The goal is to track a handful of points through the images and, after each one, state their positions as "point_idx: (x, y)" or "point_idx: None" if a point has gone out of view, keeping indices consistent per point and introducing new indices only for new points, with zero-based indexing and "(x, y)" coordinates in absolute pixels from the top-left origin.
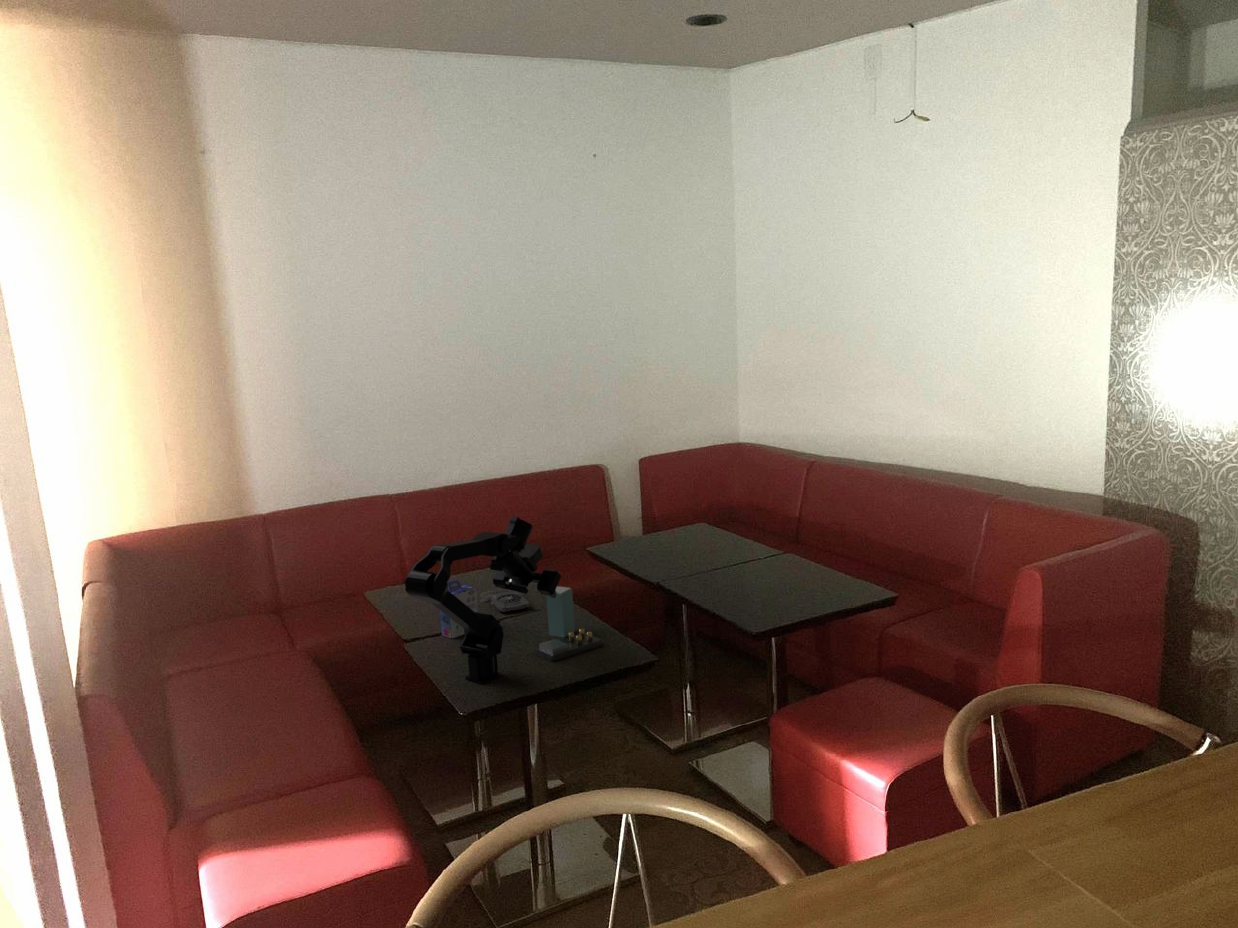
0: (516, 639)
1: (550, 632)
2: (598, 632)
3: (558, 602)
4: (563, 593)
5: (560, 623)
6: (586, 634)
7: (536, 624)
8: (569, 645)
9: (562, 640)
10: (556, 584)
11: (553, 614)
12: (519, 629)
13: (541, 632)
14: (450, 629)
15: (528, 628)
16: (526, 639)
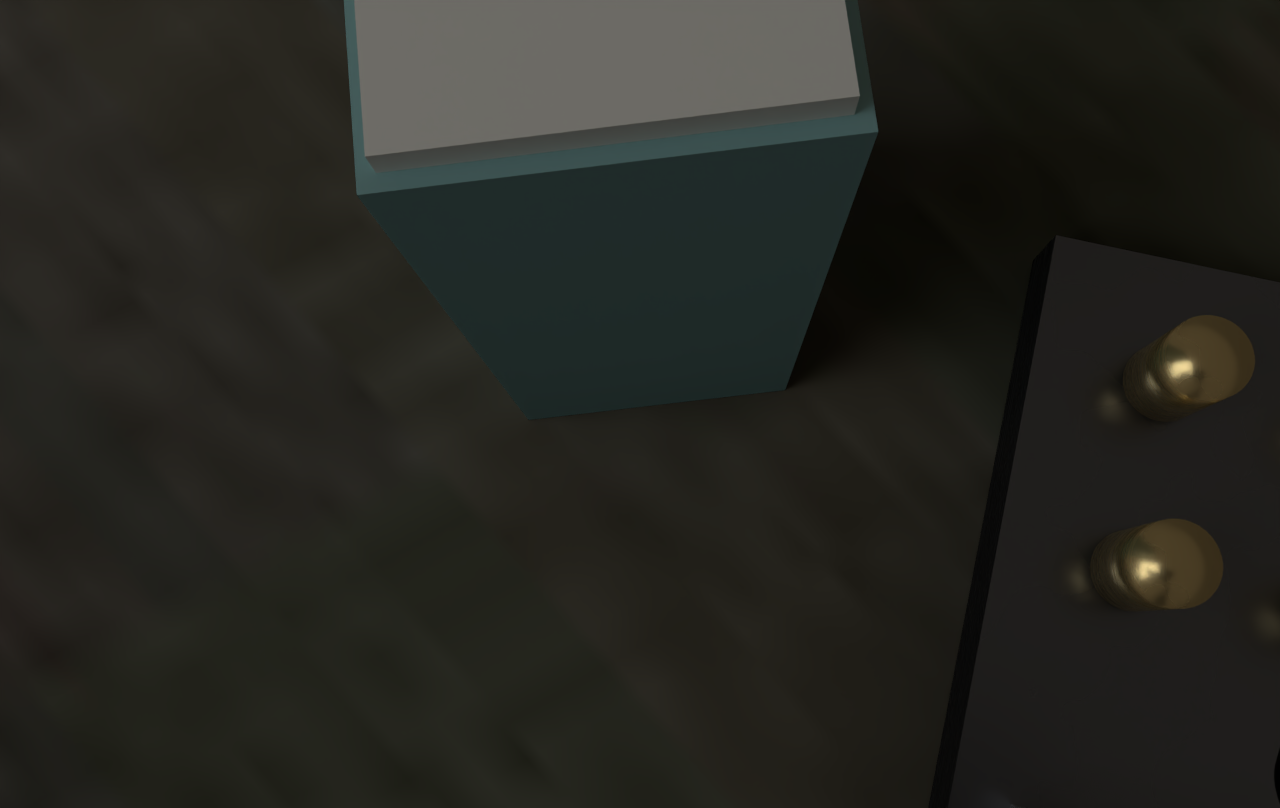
0: (226, 798)
1: (550, 410)
2: (1056, 20)
3: (746, 229)
4: (855, 33)
5: (742, 348)
6: (1153, 284)
7: (100, 200)
8: None
9: (1024, 659)
10: None
11: (603, 329)
12: (6, 464)
13: (366, 399)
14: None
15: (97, 371)
16: (358, 723)
